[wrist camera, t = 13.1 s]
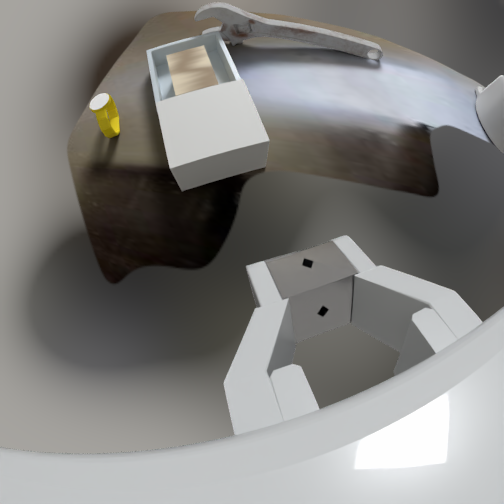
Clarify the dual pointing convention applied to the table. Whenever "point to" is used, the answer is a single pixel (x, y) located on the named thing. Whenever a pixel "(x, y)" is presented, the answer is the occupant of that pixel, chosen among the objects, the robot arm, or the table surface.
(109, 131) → the watch
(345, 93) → the table surface
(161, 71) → the tray
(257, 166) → the riser
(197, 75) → the block
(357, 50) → the wrench
